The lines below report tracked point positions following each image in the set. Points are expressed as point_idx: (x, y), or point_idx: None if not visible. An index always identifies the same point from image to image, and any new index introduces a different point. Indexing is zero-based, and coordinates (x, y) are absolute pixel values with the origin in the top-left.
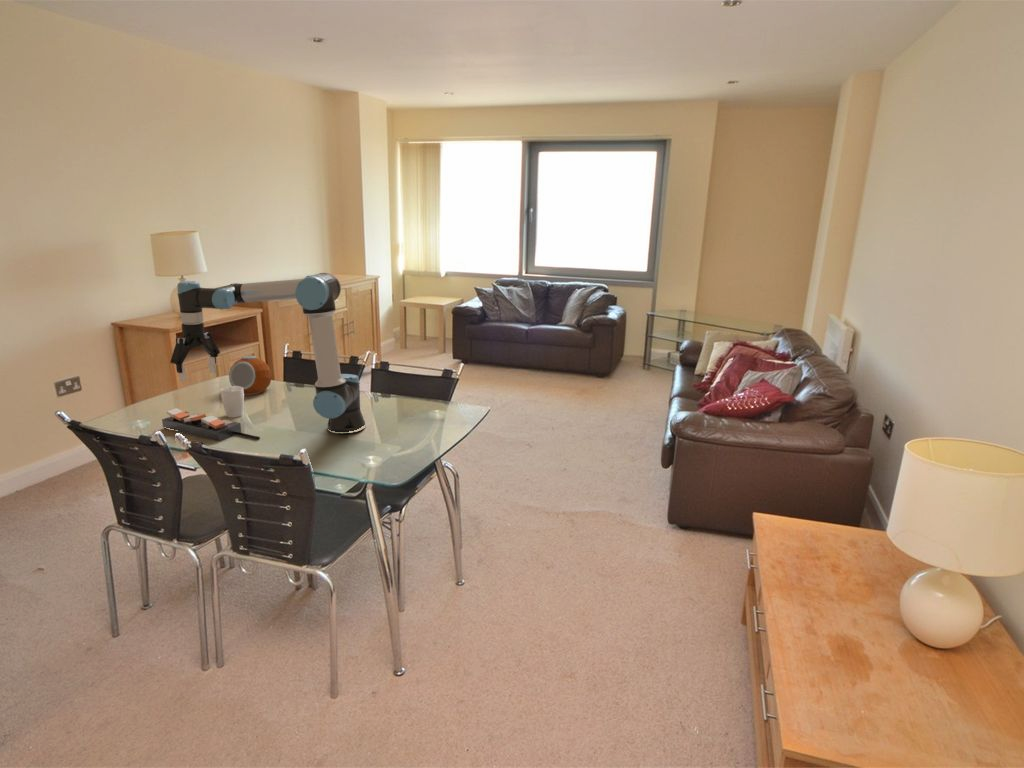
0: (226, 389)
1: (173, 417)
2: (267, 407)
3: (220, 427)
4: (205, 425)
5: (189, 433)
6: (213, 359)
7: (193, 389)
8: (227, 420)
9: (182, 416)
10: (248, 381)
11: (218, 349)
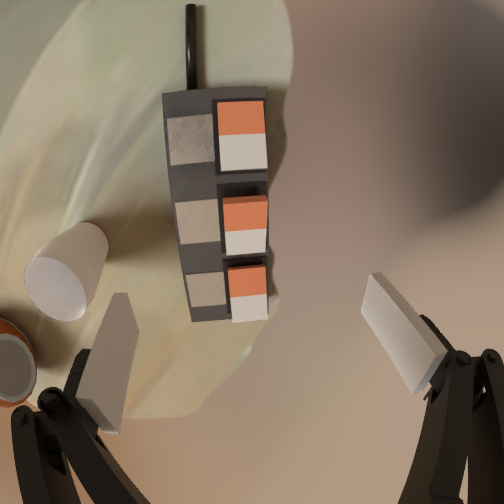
0: (64, 314)
1: None
2: (12, 225)
3: None
4: None
5: None
6: (95, 379)
7: None
8: (170, 148)
9: (252, 271)
10: (5, 346)
11: (14, 443)
